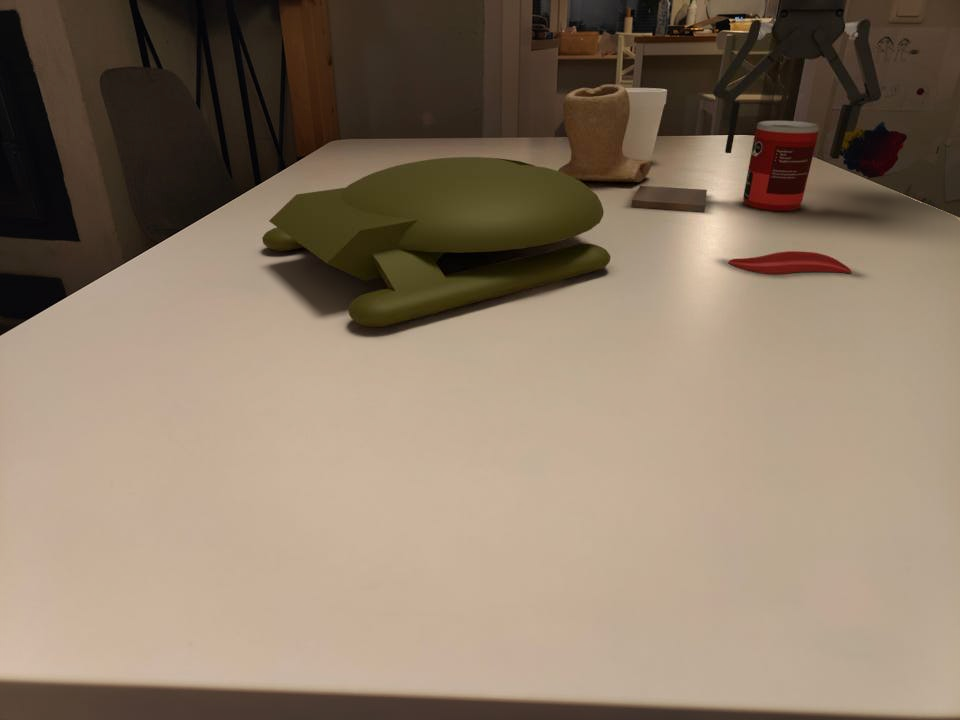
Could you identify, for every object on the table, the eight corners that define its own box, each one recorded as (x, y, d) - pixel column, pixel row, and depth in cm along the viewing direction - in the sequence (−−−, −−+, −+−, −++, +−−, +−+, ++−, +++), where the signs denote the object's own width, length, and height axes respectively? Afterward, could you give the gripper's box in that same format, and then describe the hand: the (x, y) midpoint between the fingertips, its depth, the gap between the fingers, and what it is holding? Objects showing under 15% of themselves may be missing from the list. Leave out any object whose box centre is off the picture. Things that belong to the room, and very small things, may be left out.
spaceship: (364, 340, 51) (351, 222, 46) (258, 247, 73) (242, 162, 69) (658, 260, 67) (670, 168, 63) (498, 205, 90) (498, 134, 86)
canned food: (758, 195, 94) (773, 119, 89) (811, 205, 88) (830, 124, 83) (731, 204, 89) (745, 123, 84) (784, 214, 84) (803, 129, 79)
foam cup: (598, 161, 121) (604, 89, 115) (635, 157, 125) (643, 87, 119) (630, 169, 113) (638, 92, 107) (668, 164, 117) (678, 90, 111)
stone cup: (549, 186, 101) (553, 87, 94) (564, 172, 111) (569, 82, 104) (643, 192, 97) (655, 88, 90) (650, 177, 107) (661, 82, 100)
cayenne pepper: (726, 268, 65) (729, 251, 64) (729, 255, 69) (732, 239, 68) (855, 283, 61) (860, 265, 60) (850, 268, 64) (855, 251, 64)
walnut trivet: (706, 196, 94) (707, 189, 94) (704, 212, 86) (705, 204, 85) (639, 192, 97) (640, 185, 97) (631, 206, 89) (632, 199, 88)
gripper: (711, -25, 76) (685, 153, 86) (946, -31, 69) (887, 164, 79) (712, -20, 82) (687, 145, 92) (927, -26, 75) (875, 154, 85)
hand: (779, 154), depth 86 cm, fingers open, 13 cm apart
